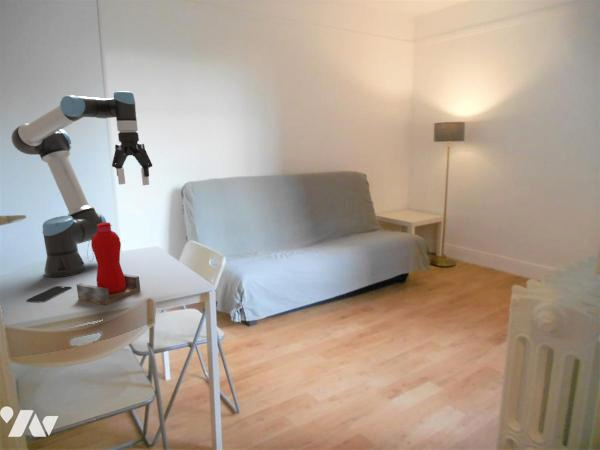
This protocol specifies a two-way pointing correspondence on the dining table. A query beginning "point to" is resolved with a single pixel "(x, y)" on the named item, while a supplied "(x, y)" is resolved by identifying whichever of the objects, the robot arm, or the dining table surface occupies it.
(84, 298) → the bottle holder
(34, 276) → the dining table surface
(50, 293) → the smartphone
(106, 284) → the water bottle
